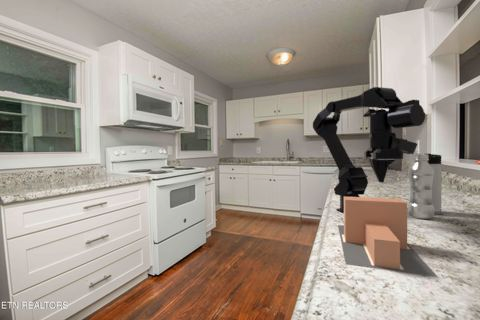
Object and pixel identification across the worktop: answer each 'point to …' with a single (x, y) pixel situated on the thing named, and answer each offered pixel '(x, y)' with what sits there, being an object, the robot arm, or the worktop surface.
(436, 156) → the travel mug
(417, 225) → the worktop surface
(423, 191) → the plastic bottle
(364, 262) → the mat
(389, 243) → the t block
